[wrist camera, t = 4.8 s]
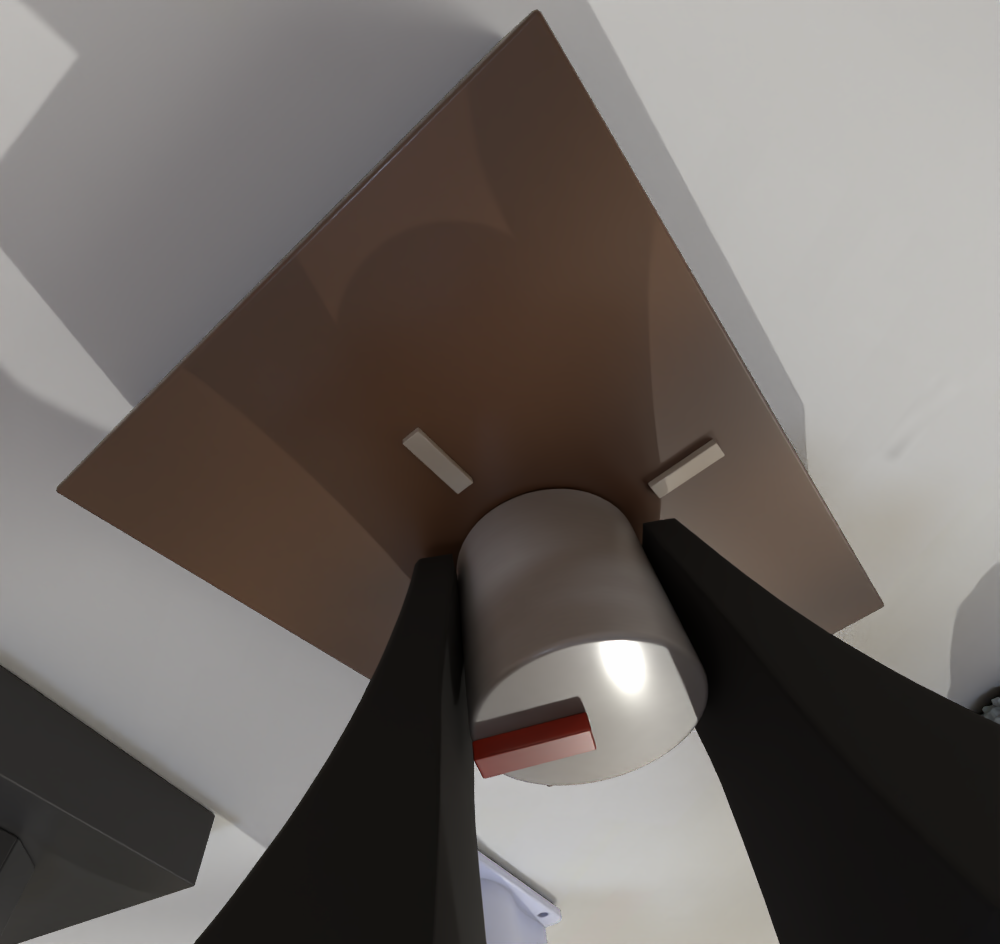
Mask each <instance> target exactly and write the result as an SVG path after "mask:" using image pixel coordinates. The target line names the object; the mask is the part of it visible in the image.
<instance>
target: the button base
mask: <svg viewBox="0 0 1000 944" xmlns="http://www.w3.org/2000/svg"><path fill="white" fill-rule="evenodd" d="M214 817H215V815H214V814H212V813H211V812H209V811H208V810H207V809H205V808H204V807H202V806H201V805H199V804H198V803H197V802H195V801H194V800H192V799H191V798H189V797H188V796H186V795H185V794H184V793H182V792H181V791H179V790H178V789H176V788H175V787H174V786H172V785H171V784H169V783H168V782H166V781H165V780H164V779H162V778H161V777H159V776H158V775H156V774H155V773H153V772H152V771H151V770H149V769H148V768H146V767H145V766H143V765H142V764H141V763H139V762H138V761H136V760H135V759H133V758H132V757H131V756H129V755H128V754H126V753H125V752H123V751H122V750H120V749H119V748H118V747H116V746H115V745H113V744H112V743H110V742H109V741H108V740H106V739H105V738H103V737H102V736H100V735H99V734H98V733H96V732H95V731H93V730H92V729H90V728H89V727H87V726H86V725H85V724H83V723H82V722H80V721H79V720H77V719H76V718H75V717H73V716H72V715H70V714H69V713H67V712H66V711H65V710H63V709H62V708H60V707H59V706H57V705H56V704H54V703H53V702H52V701H50V700H49V699H47V698H46V697H44V696H43V695H42V694H40V693H39V692H37V691H36V690H34V689H33V688H32V687H30V686H29V685H27V684H26V683H24V682H23V681H21V680H20V679H19V678H17V677H16V676H14V675H13V674H11V673H10V672H9V671H7V670H6V669H4V668H3V667H1V666H0V944H18V943H21V942H24V941H27V940H30V939H33V938H36V937H39V936H42V935H45V934H48V933H51V932H54V931H58V930H61V929H64V928H67V927H70V926H73V925H76V924H79V923H82V922H85V921H88V920H91V919H94V918H97V917H100V916H104V915H107V914H110V913H113V912H116V911H119V910H122V909H125V908H128V907H131V906H134V905H137V904H140V903H143V902H146V901H150V900H153V899H156V898H159V897H162V896H165V895H168V894H171V893H174V892H177V891H180V890H183V889H186V888H189V887H192V886H194V885H195V882H196V879H197V875H198V872H199V869H200V865H201V862H202V858H203V855H204V851H205V848H206V845H207V841H208V838H209V834H210V831H211V828H212V824H213V821H214Z"/></svg>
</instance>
